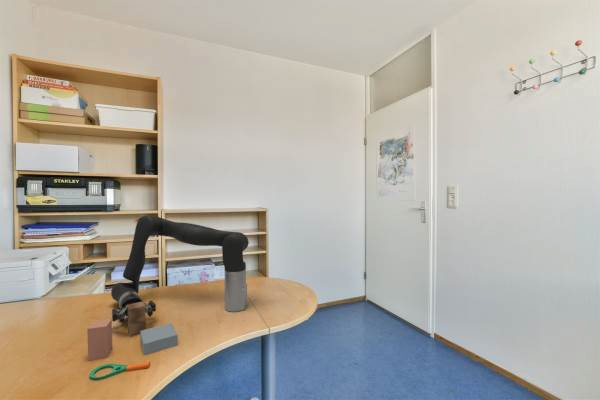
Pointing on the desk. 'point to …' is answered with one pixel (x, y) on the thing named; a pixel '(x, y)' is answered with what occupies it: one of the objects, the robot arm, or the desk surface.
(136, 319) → the walnut block
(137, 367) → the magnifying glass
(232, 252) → the robot arm
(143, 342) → the slate base block
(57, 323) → the desk surface
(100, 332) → the brick-red block
